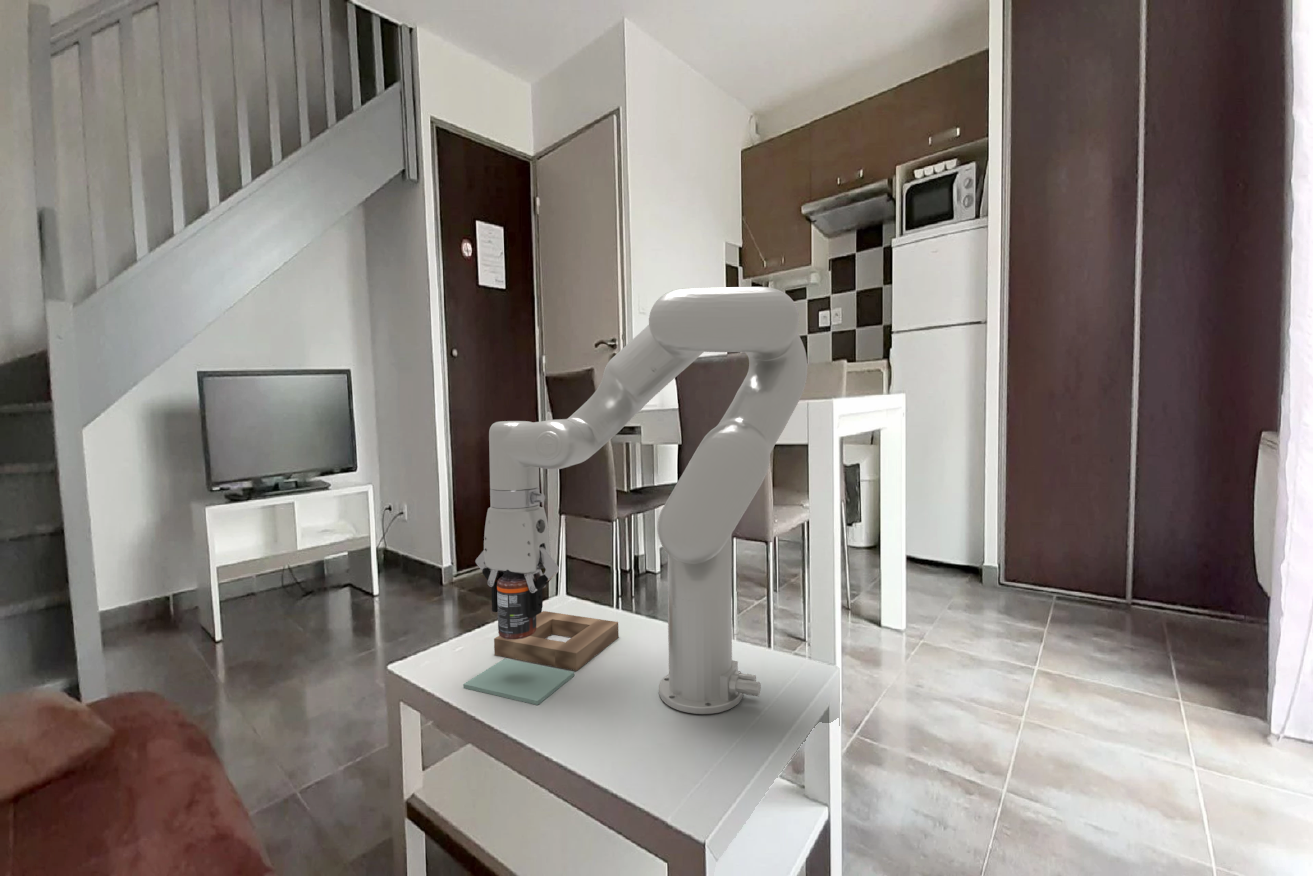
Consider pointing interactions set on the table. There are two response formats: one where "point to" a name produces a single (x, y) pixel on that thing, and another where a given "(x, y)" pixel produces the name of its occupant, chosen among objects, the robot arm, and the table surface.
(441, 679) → the table surface
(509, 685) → the sage green mat
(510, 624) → the supplement bottle
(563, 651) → the walnut frame
